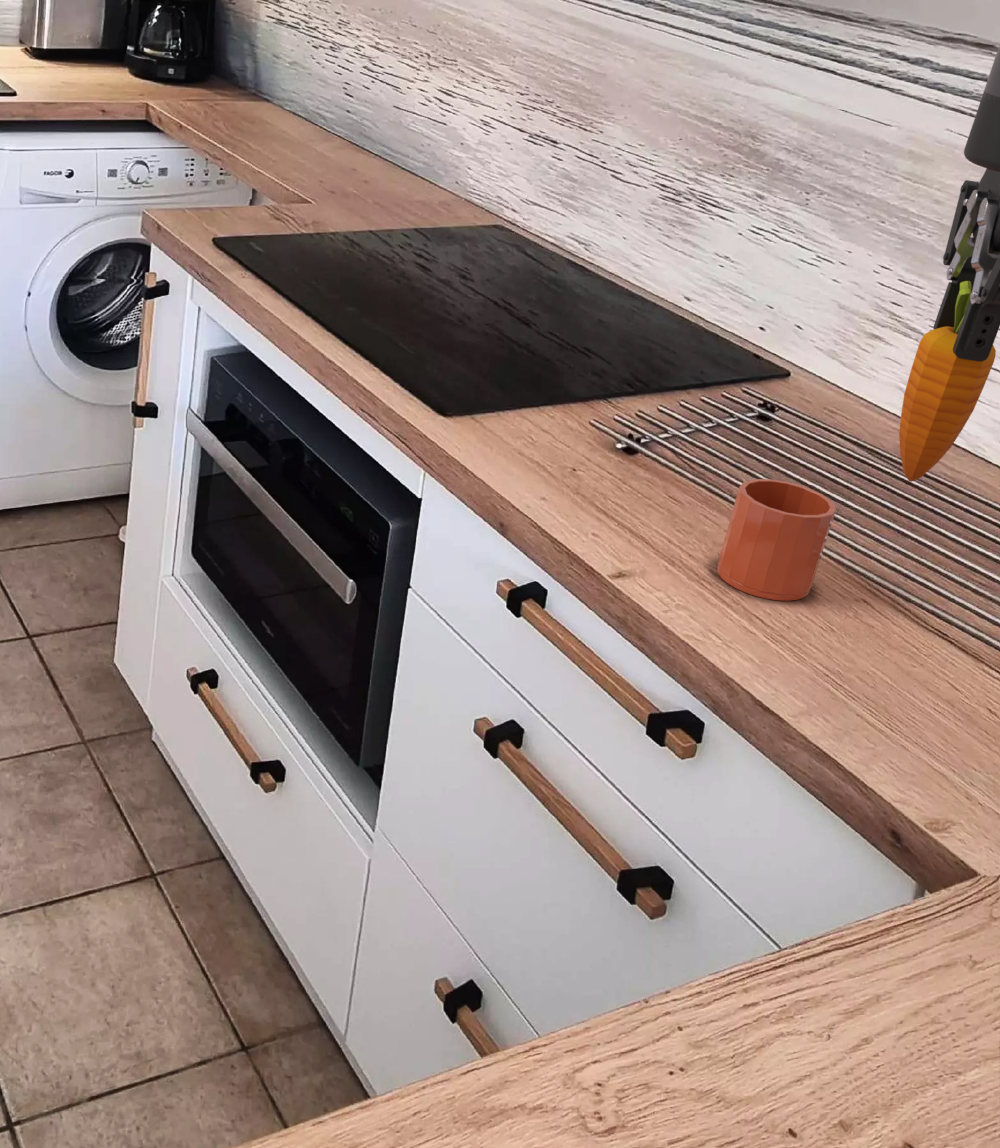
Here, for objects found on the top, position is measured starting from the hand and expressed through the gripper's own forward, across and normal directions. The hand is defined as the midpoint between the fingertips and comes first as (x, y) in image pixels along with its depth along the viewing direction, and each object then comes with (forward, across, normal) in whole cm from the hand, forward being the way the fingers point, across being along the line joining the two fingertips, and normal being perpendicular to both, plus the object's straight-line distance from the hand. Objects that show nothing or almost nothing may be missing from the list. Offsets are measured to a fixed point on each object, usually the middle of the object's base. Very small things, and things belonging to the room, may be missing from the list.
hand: (958, 345), depth 105 cm
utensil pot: (+28, +18, +3) cm, 33 cm away
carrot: (+11, 0, 0) cm, 11 cm away
